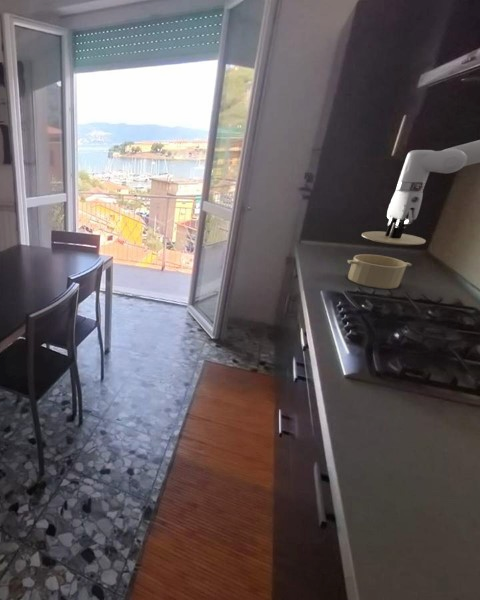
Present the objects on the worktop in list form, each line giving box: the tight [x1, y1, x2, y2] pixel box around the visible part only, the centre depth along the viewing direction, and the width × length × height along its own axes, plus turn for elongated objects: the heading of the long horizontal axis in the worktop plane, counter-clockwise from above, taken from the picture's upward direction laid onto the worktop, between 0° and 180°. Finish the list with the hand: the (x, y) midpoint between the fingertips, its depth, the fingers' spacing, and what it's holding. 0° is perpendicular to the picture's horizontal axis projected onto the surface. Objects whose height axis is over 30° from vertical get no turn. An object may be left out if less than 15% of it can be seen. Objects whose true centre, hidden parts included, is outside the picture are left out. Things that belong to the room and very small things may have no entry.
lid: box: [361, 222, 427, 246], centre depth 135 cm, size 19×19×7 cm
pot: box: [347, 253, 413, 290], centre depth 155 cm, size 18×23×10 cm
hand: (392, 236), depth 136 cm, fingers closed on lid, 2 cm apart
